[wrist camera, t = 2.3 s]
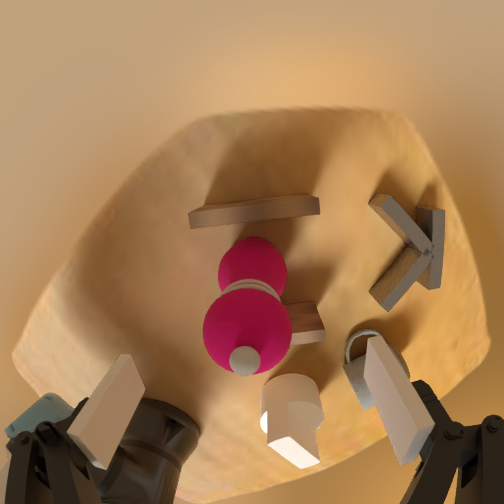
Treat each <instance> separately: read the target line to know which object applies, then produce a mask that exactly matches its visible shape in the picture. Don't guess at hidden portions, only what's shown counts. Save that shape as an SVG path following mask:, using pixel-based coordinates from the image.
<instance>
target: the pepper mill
mask: <svg viewBox="0 0 504 504" xmlns="http://www.w3.org/2000/svg"><path fill="white" fill-rule="evenodd" d="M218 281H219V286H220V288H221V291H222V294H221V295H220V297H219V298H218V299H216V300H215V302H214V303H213V304H212V305H211V307H210V308H209V310H208V312H207V314H206V316H205V319H204V324H203V339H204V344H205V347H206V349H207V351H208V353H209V355H210V356H211V357H212V359H213V360H214V361H215V362H216V363H217V364H219V365H220V366H222V367H223V368H225V369H226V370H229V371H231V372H234V373H236V374H238V375H241V376H248V375H252V374H258V373H262V372H265V371H267V370H269V369H271V368H273V367H274V366H275V365H277V364H278V363H279V362H280V361H281V360H282V359H283V358H284V356H285V355H286V353H287V351H288V349H289V347H290V343H291V340H292V324H291V320H290V316H289V314H288V312H287V310H286V308H285V307H284V305H283V304H282V303H281V301H280V298H279V297H280V296H281V294H282V293H283V291H284V288H285V285H286V281H287V269H286V264H285V261H284V259H283V257H282V256H281V255H280V253H279V252H278V251H277V250H276V249H275V247H274V246H273V245H272V244H271V243H269V242H268V241H266V240H264V239H261V238H256V237H251V238H246V239H243V240H241V241H239V242H238V243H236V244H235V245H234V246H233V247H232V248H230V249H229V250H228V251H227V252H226V253H225V255H224V256H223V258H222V260H221V262H220V265H219V271H218Z"/></svg>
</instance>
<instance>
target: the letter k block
mask: <svg viewBox="0 0 504 504" xmlns="http://www.w3.org/2000/svg"><path fill="white" fill-rule="evenodd" d="M368 205H369V206H370V207H371V208H372V209H373V210H374V211H375V212H376V213H377V214H378V215H379V216H380V217H381V218H382V219H383V220H384V221H385V222H386V223H387V224H388V225H389V226H390V227H391V228H392V229H393V230H394V231H395V232H396V233H397V234H398V235H399V237H400V238H401V239H402V240H403V241H404V242H405V243H406V244H407V246H406V248H405V249H404V250H403V251H402V253H401V254H400V255H399V256H398V258H397V259H396V260H395V261H394V263H393V264H392V265H391V266H390V268H389V269H388V270H387V271H386V272H385V274H384V275H383V276H382V277H381V278H380V279H379V281H378V282H377V283H376V284H375V285H374V286H373V287H372V289H371V290H370V291H369V293H370V294H371V295H372V296H373V298H374V299H375V300H376V301H377V302H378V303H379V305H381V306H382V307H383V308H384V309H385V310H386V311H387V312H389V311H390V310H391V309H392V307H393V306H394V305H395V304H396V303H397V302H398V301H399V300H400V298H401V297H402V296H403V295H404V294H405V293H406V291H407V290H408V289H409V288H410V287H411V285H412V284H413V283H414V282H415V281H417V282H419V283H420V284H421V285H423V286H424V287H425V288H426V289H428V290H431V289H436V288H440V285H441V276H442V266H443V253H444V234H445V210H443V209H439V208H435V207H431V206H417V207H416V213H417V224H416V223H415V222H414V221H413V220H412V219H411V217H410V216H409V215H408V214H407V213H406V212H405V211H404V210H403V208H402V207H401V206H400V205H399V204H398V203H397V202H396V201H395V200H394V199H393V198H392V197H391V195H385V194H380V193H376V194H375V195H374V197H373V198H372V199H371V200H370V202H369V203H368Z"/></svg>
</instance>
